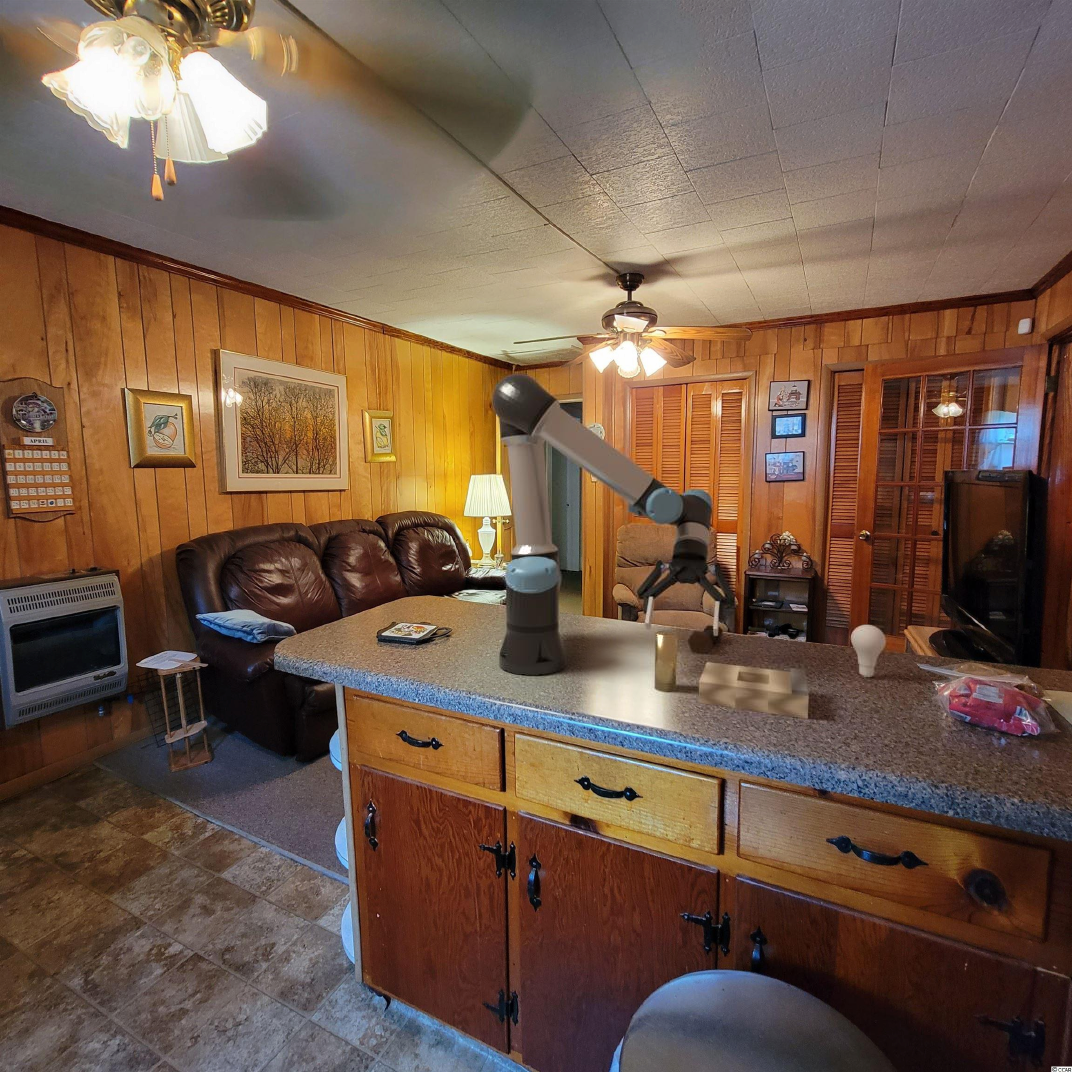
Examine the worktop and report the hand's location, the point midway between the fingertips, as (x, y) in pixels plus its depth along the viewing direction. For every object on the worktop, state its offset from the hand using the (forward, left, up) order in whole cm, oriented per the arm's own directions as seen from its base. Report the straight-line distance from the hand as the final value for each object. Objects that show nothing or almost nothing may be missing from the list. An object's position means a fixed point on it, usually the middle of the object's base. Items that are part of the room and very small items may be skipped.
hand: (680, 629), depth 113 cm
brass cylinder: (-2, -7, -10) cm, 12 cm away
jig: (+14, -6, -10) cm, 18 cm away
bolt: (+3, +26, -11) cm, 28 cm away
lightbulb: (+35, +15, -11) cm, 40 cm away
